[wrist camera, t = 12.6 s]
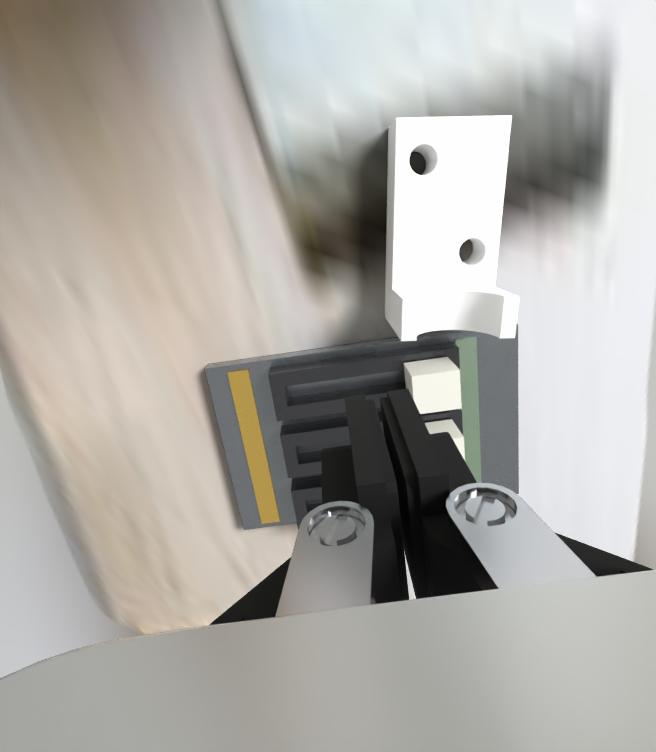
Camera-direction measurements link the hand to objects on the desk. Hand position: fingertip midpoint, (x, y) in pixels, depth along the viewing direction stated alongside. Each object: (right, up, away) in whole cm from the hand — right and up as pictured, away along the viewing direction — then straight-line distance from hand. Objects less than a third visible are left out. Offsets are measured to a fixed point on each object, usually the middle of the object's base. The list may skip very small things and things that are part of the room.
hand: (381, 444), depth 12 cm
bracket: (+6, +13, +21) cm, 26 cm away
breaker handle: (+6, +2, +23) cm, 24 cm away
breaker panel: (+2, -3, +26) cm, 26 cm away
